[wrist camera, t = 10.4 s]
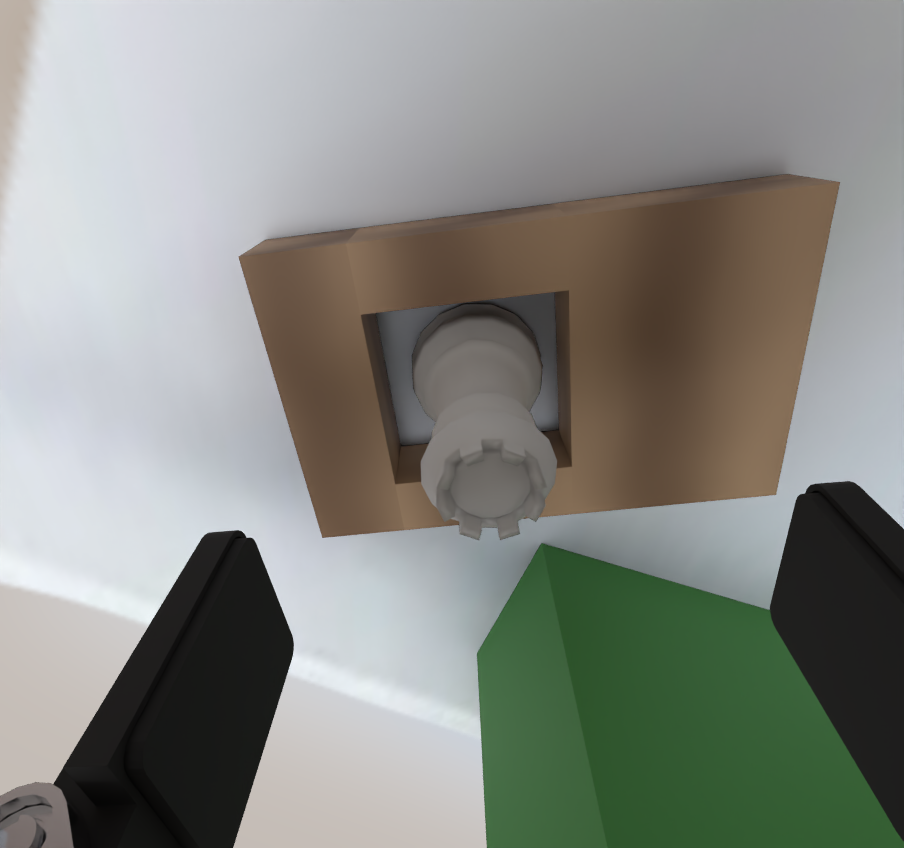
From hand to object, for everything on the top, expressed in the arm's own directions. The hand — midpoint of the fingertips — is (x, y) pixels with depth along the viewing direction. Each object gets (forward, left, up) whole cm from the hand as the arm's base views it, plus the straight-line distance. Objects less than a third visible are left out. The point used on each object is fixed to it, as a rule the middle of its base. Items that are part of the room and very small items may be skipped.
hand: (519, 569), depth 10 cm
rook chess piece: (0, 0, -11) cm, 11 cm away
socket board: (-1, 0, -11) cm, 11 cm away
